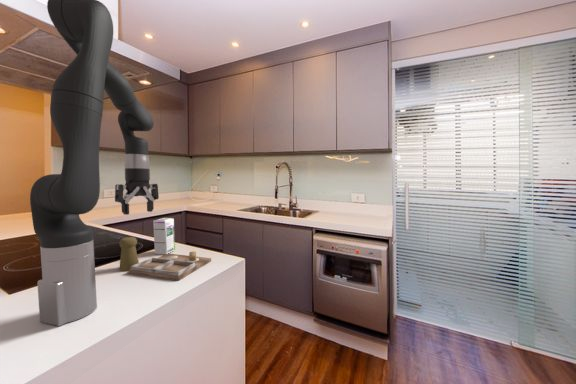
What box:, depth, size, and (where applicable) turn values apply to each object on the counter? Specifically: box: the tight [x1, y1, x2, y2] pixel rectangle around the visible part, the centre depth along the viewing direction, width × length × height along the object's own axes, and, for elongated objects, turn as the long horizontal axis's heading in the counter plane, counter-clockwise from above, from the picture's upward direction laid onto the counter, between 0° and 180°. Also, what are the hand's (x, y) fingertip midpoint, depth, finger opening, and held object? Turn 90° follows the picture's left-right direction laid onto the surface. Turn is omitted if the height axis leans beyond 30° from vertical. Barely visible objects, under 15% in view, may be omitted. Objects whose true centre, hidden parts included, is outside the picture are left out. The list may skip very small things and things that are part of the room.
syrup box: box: [152, 217, 176, 255], centre depth 103 cm, size 6×6×14 cm
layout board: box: [127, 251, 212, 281], centre depth 87 cm, size 18×20×4 cm
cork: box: [118, 236, 140, 272], centre depth 86 cm, size 6×6×11 cm
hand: (138, 212), depth 87 cm, fingers open, 8 cm apart
